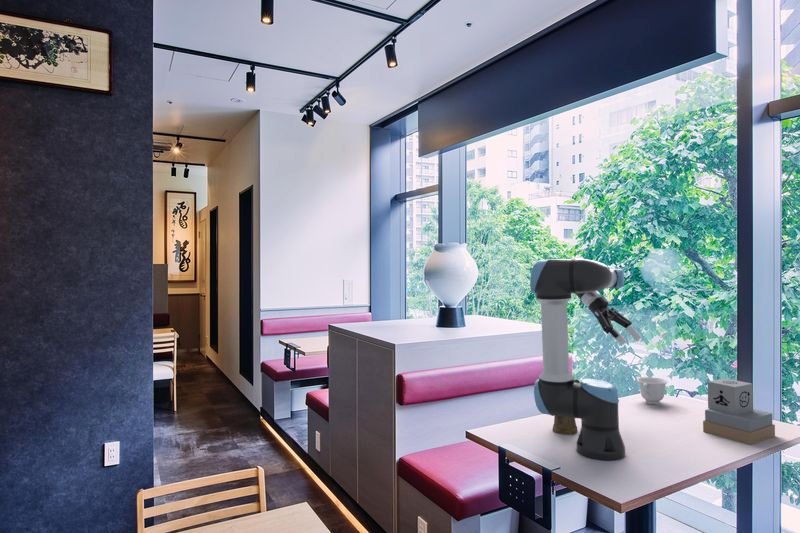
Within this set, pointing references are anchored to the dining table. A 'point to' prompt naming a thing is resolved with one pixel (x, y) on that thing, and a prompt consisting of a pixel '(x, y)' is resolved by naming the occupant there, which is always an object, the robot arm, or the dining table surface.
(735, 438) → the tower base
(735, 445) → the dining table surface
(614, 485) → the dining table surface
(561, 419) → the wooden mug
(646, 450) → the dining table surface
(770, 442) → the dining table surface
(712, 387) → the icon cube
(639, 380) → the teacup
